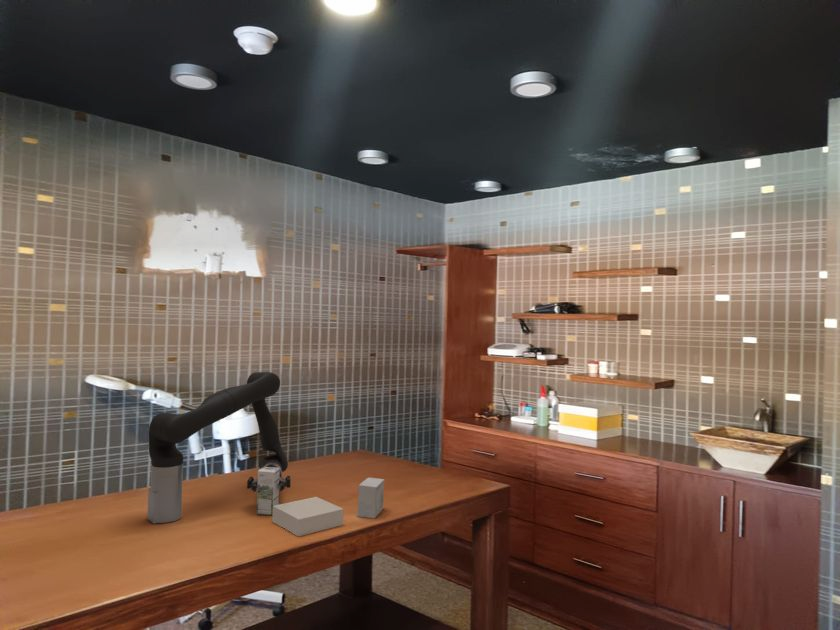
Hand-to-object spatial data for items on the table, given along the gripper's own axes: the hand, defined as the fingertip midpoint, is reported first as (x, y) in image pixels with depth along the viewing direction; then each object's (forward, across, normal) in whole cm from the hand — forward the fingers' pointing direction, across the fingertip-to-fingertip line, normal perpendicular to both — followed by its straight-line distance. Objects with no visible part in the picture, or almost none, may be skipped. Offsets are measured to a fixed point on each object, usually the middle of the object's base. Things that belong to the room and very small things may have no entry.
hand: (267, 488), depth 188 cm
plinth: (+10, +13, +8) cm, 19 cm away
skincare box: (+2, +34, +9) cm, 35 cm away
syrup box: (-2, 0, +9) cm, 9 cm away
